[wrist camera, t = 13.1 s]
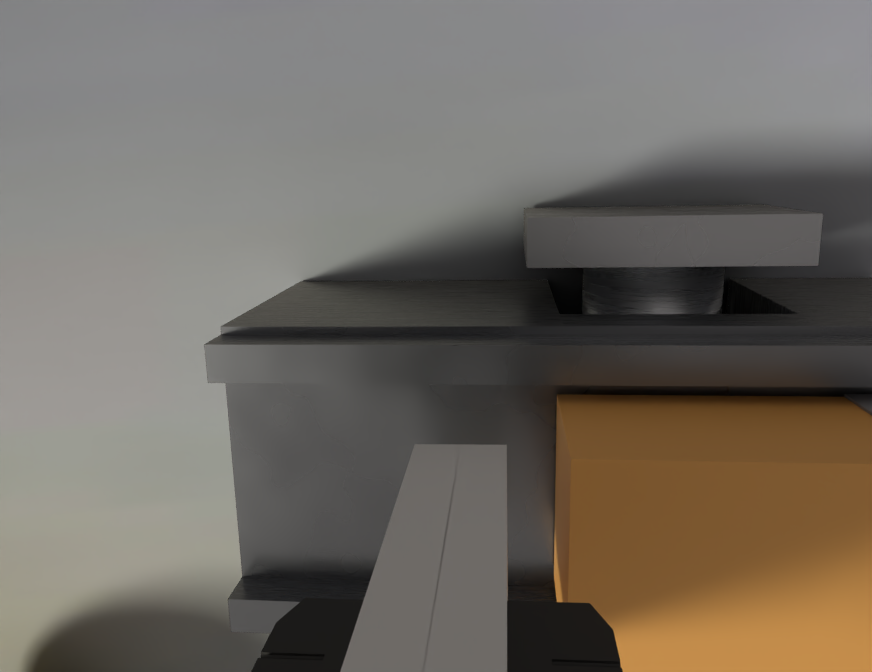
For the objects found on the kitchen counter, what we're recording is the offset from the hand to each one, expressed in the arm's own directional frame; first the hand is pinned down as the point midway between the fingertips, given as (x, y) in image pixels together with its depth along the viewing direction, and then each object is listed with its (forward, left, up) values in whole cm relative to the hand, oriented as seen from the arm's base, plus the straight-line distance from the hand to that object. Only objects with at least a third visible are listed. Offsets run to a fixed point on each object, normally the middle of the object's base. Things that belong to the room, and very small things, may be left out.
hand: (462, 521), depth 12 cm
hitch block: (0, +2, -7) cm, 8 cm away
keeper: (0, +5, -2) cm, 5 cm away
